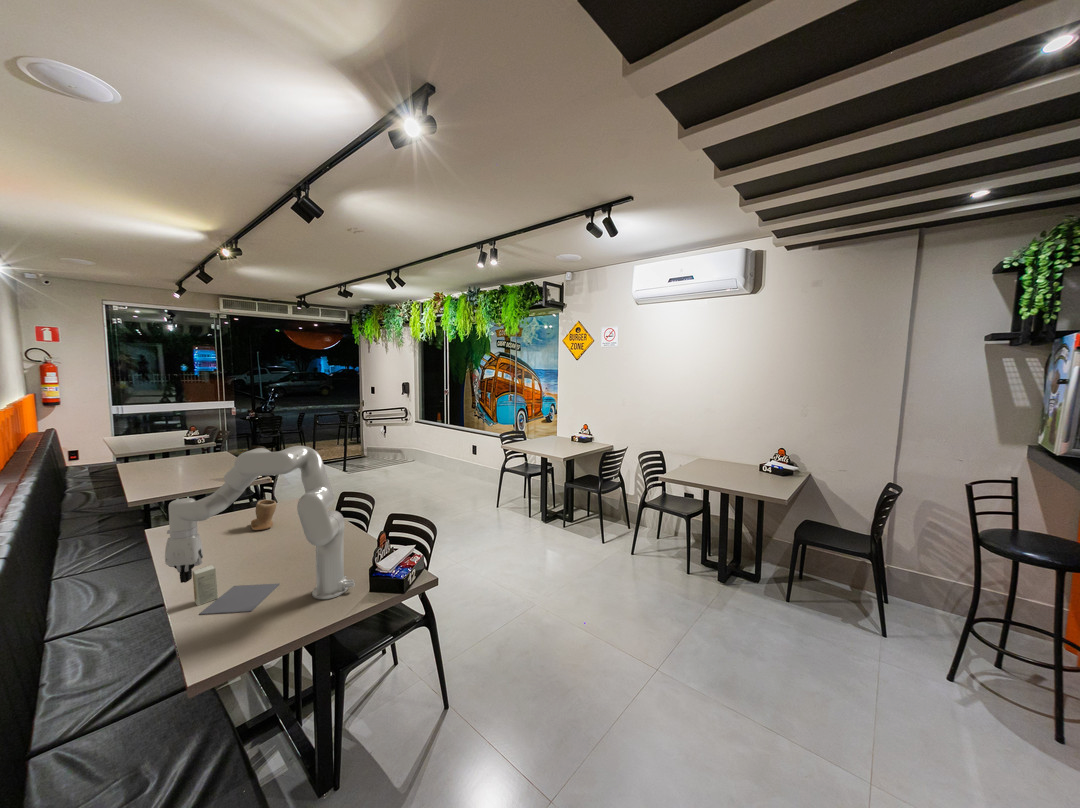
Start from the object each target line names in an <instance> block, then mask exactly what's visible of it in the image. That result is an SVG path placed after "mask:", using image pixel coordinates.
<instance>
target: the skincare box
mask: <svg viewBox="0 0 1080 808" xmlns="http://www.w3.org/2000/svg"><path fill="white" fill-rule="evenodd" d="M192 582H193V583H192V584H193V595H194V596H193V597H194V599H193V600H194V603H195V604H196V606H197V607H198V606H201V605H204V604H206V603H210V602H212V601H216V600H217V599H218V598H219V595H218V582H217V568H216V567H215V565H214V564H211V565H208V566H203V567H201V568H198V569H195V570H192Z"/></svg>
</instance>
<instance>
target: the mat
mask: <svg viewBox="0 0 1080 808" xmlns="http://www.w3.org/2000/svg"><path fill="white" fill-rule="evenodd" d="M279 586H280V583H263V584H245V585H244V584H243V585H241V584H240V585H233V586H232V587H230V588H229V589H228V590H227V591H226V592H224V593H223V594H221V596H218V599H215V600H213V602H212V603H210V604H209V605H208V606H207V607H205V608H204V609H203V610H201V612H199V613H198V616H201V615H218V614H219V615H223V614H236V613H237V614H238V613H252V612H253V611H254V610H255V609H256V608H257V607H258V606H259V605H260V604H261V603H262V602H263V601H264V600H265V599H266V598H267V597H268V596H269V595H270V594H272V593H273V591H275V589H277V587H279Z"/></svg>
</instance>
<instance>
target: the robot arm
mask: <svg viewBox="0 0 1080 808" xmlns="http://www.w3.org/2000/svg"><path fill="white" fill-rule="evenodd" d="M235 458H236V459H235V460H234V462H233V467H231V468H230V469H229V471H227V472H226V473H225V474H224V475H223V476H224V477H223V480H224V483H223V484H222V485H221V486H220V487H219V488H218V489H216V490H215V492H213V493H211V494H210V495H207V496H205V497H203V498H201V499H198V500H196V499H195V498H191V497H186V498H185V497H184V498H177V499H175V500H172V501H171V502H169V504H168V524H169V526H168V527H169V529H168V530H166V534H169V537H168V538H167V540H166V543H165V544H166V545H165V550H164V551H165V552H164V564H165V565H167V566H168V567H171V568H175V570H177V573H179V581H180V583H181V584H183V583H187V582H189V581H190V580H192V579H193V573H192V571H193V569H194V567H197V566H200V565H201V564H203V561H202V559H203V557H204V549H203V543H202V539H201V536H200V534H199V533H198V522H202V521H207V520H208V519H210V518H212V517H214V516H216V515H218V514H219V513H222V512H223V511H225V510H226V509H227V508H229V507H230V506H231V505H232V504H233V503H234V502H235V501H236V500H238V499H239V497H240V496H241V495H242V494H243V493H244V492H245V491H246V489H247V488H248V487H249V486H250V485H252V483H253V482H254V481H255V480H257V479H258V478H259V477H261V476H280V475H286V474H289V473H291V472H293V471H295V470H297V469H299V470H300V476H301V477H300V479H301V483H302V486H303V489H304V494H302V495H301V496H300V498H299V499H298V501H297V504H296V505H297V507H296V510H297V515H298V519H299V521H300V524H301V526H302V530H303V531H302V532H303V533H304V536H305V539H306V540H307V542H308V543H309V544H310V545H312V546H314V547H315V576H316V586H315V587H314V588H313V590H312V592H311V594H312V595H311V596H312V597H313V598H314V599H317V600H330V599H334V598H336V597H337V598H338V597H340V596H342V595H343V594H345V593H346V592H347V591H348V590H349V588H354V587H355V585H356V584H355V583H356V582H355V579H348V578H347V575H344V574H345V573H344V572H345V571H344V570H345V569H344V567H345V566H344V565H345V564H344V563H345V562H344V533H345V518H344V516H343V514H342V513H341V512H339V511H338V510H328V509H329V508H330V507H331V506H332V505H333V503H334V500H335V497H334V495H335V494H334V493H333V489H332V487H331V483H330V480H329V477H328V473H327V471H326V468H325V464H324V461H323V459H322V457H321V455H320V453H319V452H318V451H317V450H315V449H314V448H311V447H310V446H307V445H294V446H289V447H286V448H285V449H283V450H279V451H271V450H269V449H267V448H265V447H258V448H257V447H256V448H254V449H251V450H248V451H245V452H242V453H240V454H239V455H238V456H237V457H235Z"/></svg>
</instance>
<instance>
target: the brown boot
mask: <svg viewBox="0 0 1080 808" xmlns="http://www.w3.org/2000/svg"><path fill="white" fill-rule="evenodd" d="M276 509H277V502H276V500H273V499H261V500H258V501H257V503H256V504H255V516H256V518H254V519H253V520H251V521H250V527H251V529H252V530H253V531H261V530H262V531H263V530H267V529H271V528H272V527H273V525H274V523H273V520H272V519H273V516H274V514H275V511H276Z"/></svg>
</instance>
